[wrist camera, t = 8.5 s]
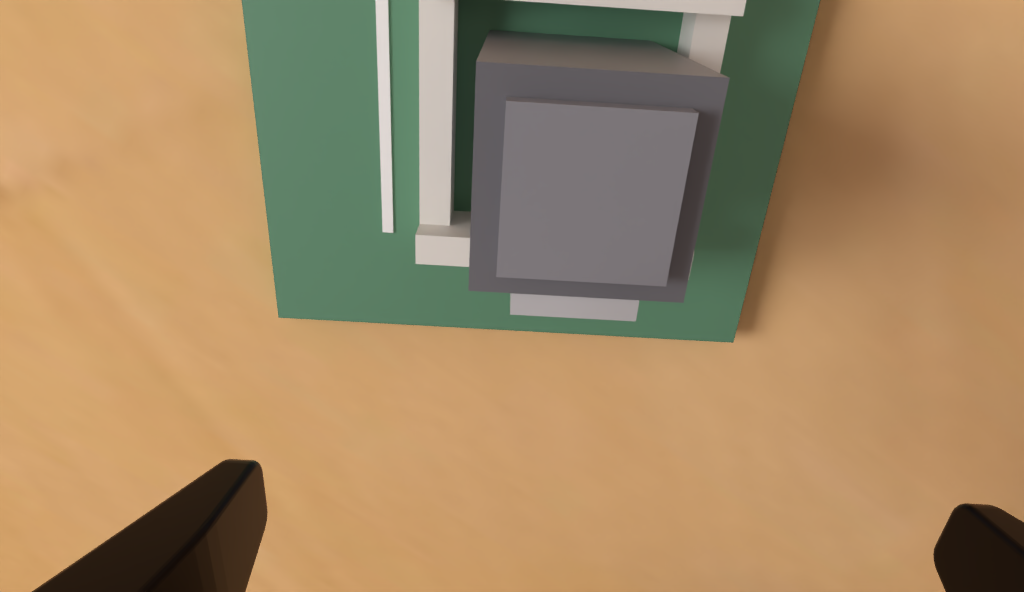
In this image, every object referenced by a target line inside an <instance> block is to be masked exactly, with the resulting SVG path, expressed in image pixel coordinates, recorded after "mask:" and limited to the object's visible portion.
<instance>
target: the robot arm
mask: <svg viewBox="0 0 1024 592" xmlns="http://www.w3.org/2000/svg"><path fill="white" fill-rule="evenodd" d="M266 521H267V503H266V495H265V487H264V480H263V472H262V468H261V466H260V464H259V463H258V462H256V461H254V460H237V459H228V460H225V461H222V462H221V463H219V464H218V465H216V466H215V467H213V468H212V469H210V470H209V471H207V472H206V473H205V474H203V475H202V476H200V477H199V478H197V479H196V480H194V481H193V482H191V483H190V484H188V485H187V486H186V487H184V488H183V489H181V490H180V491H178V492H177V493H175V494H174V495H172V496H171V497H169V498H168V499H167V500H165V501H164V502H162V503H161V504H159V505H158V506H156V507H155V508H153V509H152V510H150V511H149V512H148V513H146V514H145V515H143V516H142V517H140V518H139V519H137V520H136V521H134V522H133V523H131V524H130V525H129V526H127V527H126V528H124V529H123V530H121V531H120V532H118V533H117V534H115V535H114V536H113V537H111V538H110V539H108V540H107V541H105V542H104V543H102V544H101V545H99V546H98V547H96V548H95V549H94V550H92V551H91V552H89V553H88V554H86V555H85V556H83V557H82V558H80V559H79V560H77V561H76V562H75V563H73V564H72V565H70V566H69V567H67V568H66V569H64V570H63V571H61V572H60V573H58V574H57V575H56V576H54V577H53V578H51V579H50V580H48V581H47V582H45V583H44V584H42V585H41V586H39V587H38V588H37V589H35V590H34V591H32V592H245V591H246V588H247V585H248V581H249V578H250V575H251V572H252V569H253V565H254V562H255V559H256V556H257V553H258V549H259V546H260V543H261V540H262V537H263V533H264V530H265V526H266ZM934 563H935V567H936V570H937V572H938V575H939V577H940V579H941V582H942V584H943V586H944V589H945V591H946V592H1024V522H1022V521H1020V520H1019V519H1017V518H1015V517H1014V516H1012V515H1010V514H1009V513H1007V512H1005V511H1003V510H1002V509H1000V508H998V507H995V506H992V505H983V504H960V505H959V506H957V507H956V508H954V510H953V511H952V513H951V515H950V517H949V519H948V521H947V523H946V525H945V527H944V529H943V531H942V533H941V535H940V537H939V539H938V541H937V543H936V546H935V548H934Z"/></svg>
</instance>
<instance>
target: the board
mask: <svg viewBox="0 0 1024 592" xmlns="http://www.w3.org/2000/svg"><path fill="white" fill-rule="evenodd" d="M819 3H820V0H242V7H243V15H244V24H245V32H246V41H247V50H248V58H249V67H250V75H251V84H252V93H253V101H254V110H255V118H256V127H257V136H258V144H259V153H260V161H261V170H262V179H263V187H264V196H265V204H266V213H267V222H268V230H269V239H270V247H271V256H272V265H273V273H274V282H275V290H276V299H277V308H278V316H279V318H297V319H315V320H333V321H351V322H370V323H388V324H406V325H424V326H442V327H460V328H478V329H497V330H515V331H533V332H551V333H569V334H587V335H606V336H624V337H642V338H660V339H678V340H696V341H714V342H733V341H734V338H735V334H736V330H737V326H738V322H739V318H740V314H741V310H742V306H743V302H744V298H745V294H746V290H747V286H748V282H749V278H750V275H751V271H752V267H753V263H754V259H755V255H756V251H757V247H758V243H759V239H760V235H761V231H762V227H763V223H764V219H765V215H766V212H767V208H768V204H769V200H770V196H771V192H772V188H773V184H774V180H775V176H776V172H777V168H778V164H779V160H780V156H781V152H782V149H783V145H784V141H785V137H786V133H787V129H788V125H789V121H790V117H791V113H792V109H793V105H794V101H795V97H796V93H797V89H798V86H799V82H800V78H801V74H802V70H803V66H804V62H805V58H806V54H807V50H808V46H809V42H810V38H811V34H812V30H813V26H814V23H815V19H816V15H817V11H818V7H819ZM490 30H499V31H514V32H530V33H545V34H560V35H575V36H590V37H605V38H620V39H635V40H650V41H652V42H655V43H657V44H659V45H661V46H663V47H665V48H667V49H669V50H672V51H674V52H676V53H678V54H680V55H682V56H684V57H686V58H689V59H691V60H693V61H695V62H697V63H699V64H701V65H703V66H706V67H708V68H710V69H712V70H714V71H716V72H718V73H720V74H723V75H725V76H727V77H729V78H730V79H729V84H728V89H727V94H726V98H725V103H724V108H723V113H722V118H721V123H720V128H719V133H718V137H717V142H716V147H715V152H714V157H713V162H712V167H711V172H710V176H709V181H708V186H707V191H706V196H705V201H704V206H703V211H702V215H701V220H700V225H699V230H698V235H697V240H696V245H695V250H694V254H693V259H692V264H691V269H690V274H689V279H688V284H687V289H686V293H685V298H684V303H677V302H659V301H641V300H639V306H638V312H637V318H636V321H619V320H600V319H582V318H564V317H546V316H527V315H510V293H497V292H479V291H468V286H469V256H470V227H471V197H472V168H473V139H474V109H475V80H476V61H477V58H478V56H479V54H480V51H481V49H482V47H483V44H484V42H485V40H486V37H487V35H488V33H489V31H490Z"/></svg>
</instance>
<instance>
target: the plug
mask: <svg viewBox="0 0 1024 592" xmlns="http://www.w3.org/2000/svg"><path fill="white" fill-rule="evenodd" d="M729 79H730V78H729V77H727V76H725V75H723V74H720V73H718V72H716V71H714V70H712V69H710V68H708V67H706V66H703V65H701V64H699V63H697V62H695V61H693V60H691V59H689V58H686V57H684V56H682V55H680V54H678V53H676V52H674V51H672V50H669V49H667V48H665V47H663V46H661V45H659V44H657V43H655V42H652V41H650V40H635V39H620V38H605V37H590V36H575V35H560V34H545V33H530V32H514V31H499V30H490V31H489V33H488V35H487V37H486V40H485V42H484V44H483V47H482V49H481V51H480V54H479V56H478V58H477V61H476V80H475V109H474V139H473V168H472V197H471V227H470V256H469V286H468V291H479V292H497V293H510V315H527V316H546V317H564V318H582V319H600V320H619V321H636V318H637V312H638V306H639V300H641V301H659V302H677V303H684V298H685V293H686V289H687V284H688V279H689V274H690V269H691V264H692V259H693V254H694V250H695V245H696V240H697V235H698V230H699V225H700V220H701V215H702V211H703V206H704V201H705V196H706V191H707V186H708V181H709V176H710V172H711V167H712V162H713V157H714V152H715V147H716V142H717V137H718V133H719V128H720V123H721V118H722V113H723V108H724V103H725V98H726V94H727V89H728V84H729Z"/></svg>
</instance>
